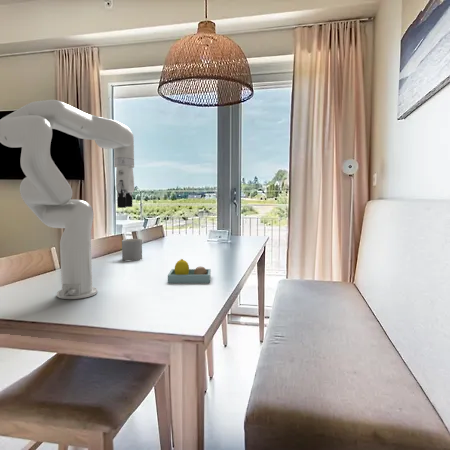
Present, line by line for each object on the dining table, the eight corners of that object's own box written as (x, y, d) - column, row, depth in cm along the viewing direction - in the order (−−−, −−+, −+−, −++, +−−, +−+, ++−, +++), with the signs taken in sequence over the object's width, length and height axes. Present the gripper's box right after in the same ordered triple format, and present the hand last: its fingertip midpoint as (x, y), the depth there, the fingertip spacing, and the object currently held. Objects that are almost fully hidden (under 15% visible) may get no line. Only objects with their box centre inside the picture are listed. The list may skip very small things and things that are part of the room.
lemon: (182, 277, 146) (181, 257, 145) (192, 279, 142) (192, 258, 142) (171, 279, 141) (171, 259, 141) (181, 282, 138) (181, 260, 137)
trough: (209, 284, 137) (209, 275, 136) (167, 284, 137) (167, 275, 136) (210, 277, 148) (210, 269, 148) (171, 277, 148) (171, 269, 147)
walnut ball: (206, 280, 140) (206, 267, 139) (193, 280, 140) (193, 267, 139) (207, 277, 145) (207, 265, 144) (194, 277, 145) (194, 265, 144)
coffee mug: (139, 260, 185) (138, 241, 184) (119, 260, 185) (119, 241, 185) (146, 256, 198) (145, 238, 197) (127, 256, 199) (127, 237, 198)
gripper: (128, 161, 136) (129, 208, 137) (138, 165, 153) (139, 206, 154) (107, 161, 136) (109, 208, 137) (120, 165, 153) (121, 206, 154)
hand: (125, 207), depth 146 cm, fingers open, 9 cm apart
